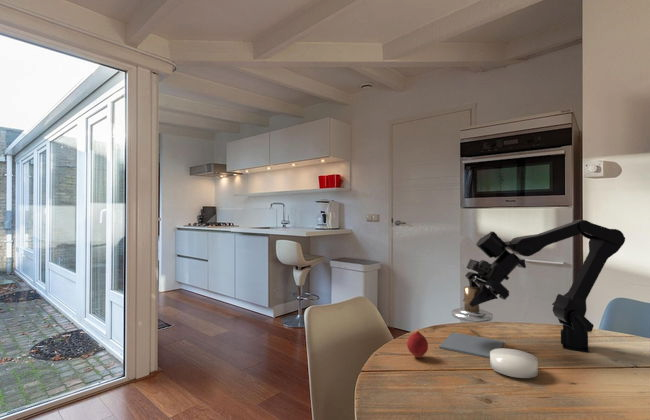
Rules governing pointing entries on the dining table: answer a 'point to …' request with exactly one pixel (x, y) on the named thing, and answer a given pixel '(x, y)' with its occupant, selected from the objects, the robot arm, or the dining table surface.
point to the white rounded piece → (514, 363)
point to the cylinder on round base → (471, 308)
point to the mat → (471, 344)
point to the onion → (417, 344)
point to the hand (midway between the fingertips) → (467, 303)
